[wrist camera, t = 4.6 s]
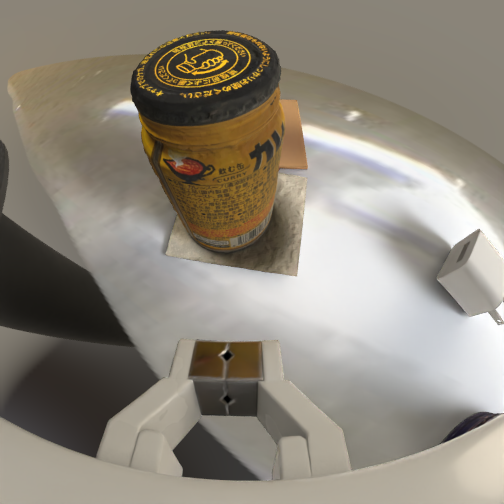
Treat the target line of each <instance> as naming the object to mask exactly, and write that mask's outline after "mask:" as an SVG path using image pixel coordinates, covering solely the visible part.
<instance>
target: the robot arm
mask: <svg viewBox="0 0 504 504" xmlns="http://www.w3.org/2000/svg"><path fill="white" fill-rule="evenodd" d="M201 415H214V416H253V417H257V418H258V420H259V421H260V422H261V424H262V425H263V426H264V428H265V429H266V431H267V432H268V433H269V435H270V436H271V437H272V438H273V440H274V441H275V442H276V444H277V451H276V456H275V461H274V466H273V470H272V480H269V481H226V480H209V479H198V478H188V477H182V472H183V468H182V467H181V465H180V463H179V462H178V460H177V459H176V457H175V455H174V453H173V452H172V450H173V449H174V448H175V447H176V446H177V445H178V443H179V442H180V441H181V440H182V439H183V438H184V437H185V435H186V434H187V433H188V432H189V431H190V430H191V429H192V427H193V426H194V425H195V424H196V423H197V421H198V420H199V419H200V418H201V417H202V416H201ZM0 504H504V413H503V414H501V415H499V416H498V417H496V418H494V419H492V420H491V421H489V422H487V423H485V424H483V425H481V426H479V427H477V428H475V429H473V430H471V431H469V432H467V433H465V434H463V435H461V436H459V437H456V438H454V439H452V440H450V441H447V442H445V443H442V444H440V445H437V446H435V447H432V448H430V449H427V450H424V451H422V452H419V453H416V454H413V455H410V456H407V457H404V458H400V459H397V460H394V461H390V462H386V463H383V464H379V465H375V466H371V467H367V468H362V469H358V470H353V471H352V469H351V465H350V460H349V456H348V451H347V447H346V443H345V439H344V434H343V430H342V429H341V428H340V427H339V426H338V425H337V424H335V423H334V422H333V421H332V420H331V419H330V418H329V417H328V416H327V415H325V414H324V413H323V412H322V411H321V410H320V409H319V408H318V407H317V406H316V405H315V404H314V403H312V402H311V401H310V400H309V399H308V398H307V397H306V396H305V395H304V394H303V393H302V392H301V391H300V390H299V389H298V388H297V387H296V386H295V385H294V384H292V383H291V382H290V381H289V380H284V375H283V367H282V359H281V351H280V343H279V341H278V340H262V342H261V341H217V340H199V339H197V340H193V339H180V340H179V341H178V344H177V348H176V351H175V355H174V358H173V362H172V366H171V369H170V373H169V377H168V378H166V377H163V378H162V379H161V380H160V381H158V382H157V383H156V384H155V385H153V386H152V387H151V388H150V389H148V390H147V391H146V392H145V393H143V394H142V395H141V396H140V397H138V398H137V399H136V400H134V401H133V402H132V403H131V404H129V405H128V406H127V407H125V408H124V409H123V410H122V411H120V412H119V413H118V414H116V415H115V416H114V417H112V418H111V419H110V420H109V421H108V423H107V426H106V429H105V432H104V435H103V438H102V440H101V443H100V446H99V449H98V452H97V455H96V458H93V457H90V456H87V455H84V454H81V453H78V452H75V451H73V450H70V449H67V448H65V447H62V446H60V445H57V444H55V443H52V442H50V441H47V440H45V439H43V438H41V437H38V436H36V435H34V434H32V433H30V432H28V431H26V430H24V429H22V428H20V427H18V426H16V425H14V424H12V423H10V422H9V421H7V420H5V419H3V418H1V417H0Z"/></svg>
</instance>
